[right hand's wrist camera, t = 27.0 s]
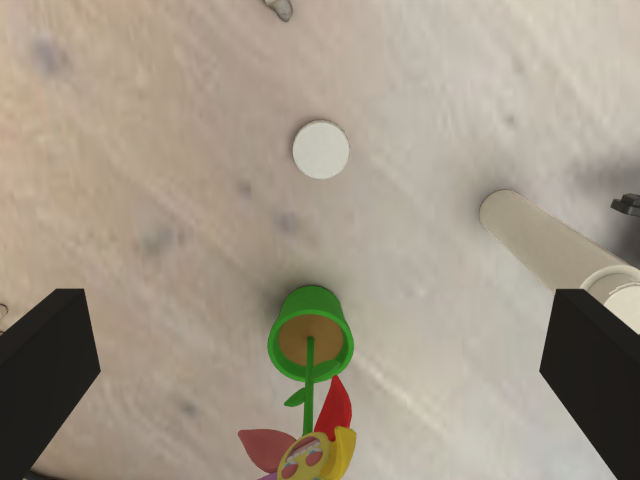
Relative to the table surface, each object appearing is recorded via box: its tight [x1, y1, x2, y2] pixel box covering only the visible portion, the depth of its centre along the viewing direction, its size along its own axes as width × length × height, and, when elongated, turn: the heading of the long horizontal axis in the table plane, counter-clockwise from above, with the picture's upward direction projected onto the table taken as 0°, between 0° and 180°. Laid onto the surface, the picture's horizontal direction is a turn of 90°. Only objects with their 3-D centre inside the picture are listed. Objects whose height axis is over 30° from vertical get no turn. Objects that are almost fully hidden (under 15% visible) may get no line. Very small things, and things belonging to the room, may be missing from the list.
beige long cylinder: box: [479, 190, 640, 335], centre depth 35 cm, size 4×4×19 cm
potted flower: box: [238, 286, 356, 480], centre depth 36 cm, size 9×8×25 cm
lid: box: [292, 119, 350, 179], centre depth 41 cm, size 5×5×2 cm
